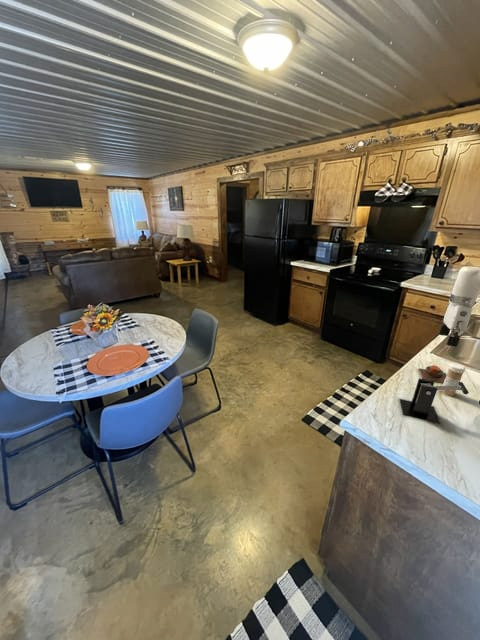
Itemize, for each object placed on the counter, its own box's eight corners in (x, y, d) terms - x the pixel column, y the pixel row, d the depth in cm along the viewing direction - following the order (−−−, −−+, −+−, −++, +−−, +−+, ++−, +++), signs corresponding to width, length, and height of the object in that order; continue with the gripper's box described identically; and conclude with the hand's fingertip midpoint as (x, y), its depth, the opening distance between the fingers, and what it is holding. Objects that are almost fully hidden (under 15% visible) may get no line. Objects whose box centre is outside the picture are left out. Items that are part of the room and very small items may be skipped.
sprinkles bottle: (446, 390, 106) (457, 361, 101) (457, 397, 102) (468, 368, 97) (436, 391, 106) (447, 363, 100) (447, 398, 101) (458, 369, 96)
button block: (443, 375, 116) (446, 368, 115) (449, 386, 109) (452, 379, 107) (417, 370, 119) (419, 364, 118) (421, 381, 112) (424, 374, 111)
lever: (463, 386, 88) (463, 380, 87) (468, 395, 84) (468, 389, 83) (420, 386, 93) (419, 380, 92) (423, 395, 89) (422, 389, 88)
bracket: (432, 409, 96) (443, 380, 91) (439, 426, 89) (451, 395, 84) (398, 401, 100) (407, 373, 95) (402, 417, 92) (411, 387, 87)
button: (437, 369, 115) (438, 366, 114) (439, 373, 112) (441, 370, 111) (429, 368, 116) (430, 364, 115) (430, 371, 113) (432, 368, 112)
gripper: (484, 308, 90) (467, 352, 97) (465, 294, 105) (451, 333, 112) (458, 305, 92) (443, 348, 99) (443, 292, 107) (430, 330, 114)
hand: (447, 340), depth 105 cm, fingers open, 9 cm apart
